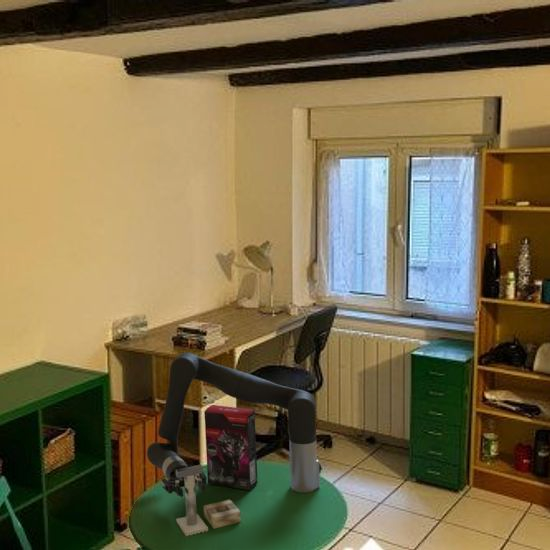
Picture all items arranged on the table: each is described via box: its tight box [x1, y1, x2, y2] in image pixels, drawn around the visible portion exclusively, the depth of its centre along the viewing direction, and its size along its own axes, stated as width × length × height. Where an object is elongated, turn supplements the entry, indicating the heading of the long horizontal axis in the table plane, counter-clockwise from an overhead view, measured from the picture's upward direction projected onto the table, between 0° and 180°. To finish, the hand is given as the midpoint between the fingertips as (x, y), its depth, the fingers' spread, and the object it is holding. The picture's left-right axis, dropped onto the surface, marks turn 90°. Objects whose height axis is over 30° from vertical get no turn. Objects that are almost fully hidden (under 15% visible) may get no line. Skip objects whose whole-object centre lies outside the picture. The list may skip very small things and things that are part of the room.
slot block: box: [203, 499, 242, 529], centre depth 226 cm, size 9×9×4 cm
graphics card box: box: [204, 404, 258, 491], centre depth 249 cm, size 17×7×27 cm, turn 68°
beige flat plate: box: [175, 513, 209, 537], centre depth 222 cm, size 7×10×1 cm
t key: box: [176, 464, 204, 526], centre depth 221 cm, size 8×3×18 cm, turn 115°
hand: (192, 491), depth 218 cm, fingers open, 6 cm apart
